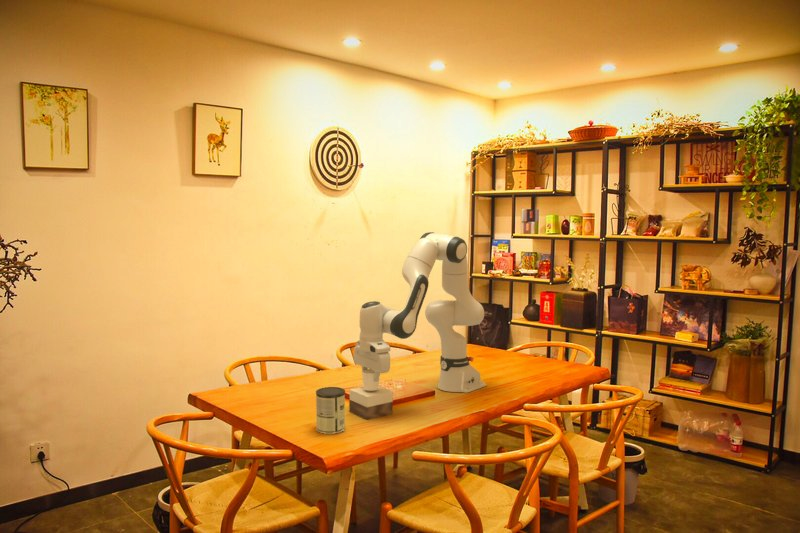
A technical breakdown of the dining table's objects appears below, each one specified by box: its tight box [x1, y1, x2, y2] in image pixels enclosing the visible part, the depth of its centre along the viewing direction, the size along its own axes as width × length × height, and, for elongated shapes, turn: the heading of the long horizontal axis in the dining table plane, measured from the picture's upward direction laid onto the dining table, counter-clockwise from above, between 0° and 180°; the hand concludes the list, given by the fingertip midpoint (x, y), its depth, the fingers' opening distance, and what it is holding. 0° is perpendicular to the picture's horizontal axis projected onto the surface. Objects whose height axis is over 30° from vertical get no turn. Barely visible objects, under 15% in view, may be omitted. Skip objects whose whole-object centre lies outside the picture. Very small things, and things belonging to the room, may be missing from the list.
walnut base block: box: [348, 399, 393, 421], centre depth 239 cm, size 12×12×5 cm
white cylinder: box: [361, 368, 380, 391], centre depth 239 cm, size 7×7×7 cm
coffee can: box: [315, 386, 346, 435], centre depth 220 cm, size 10×10×14 cm
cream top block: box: [349, 386, 394, 407], centre depth 239 cm, size 12×12×4 cm
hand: (371, 379), depth 239 cm, fingers closed on white cylinder, 5 cm apart
